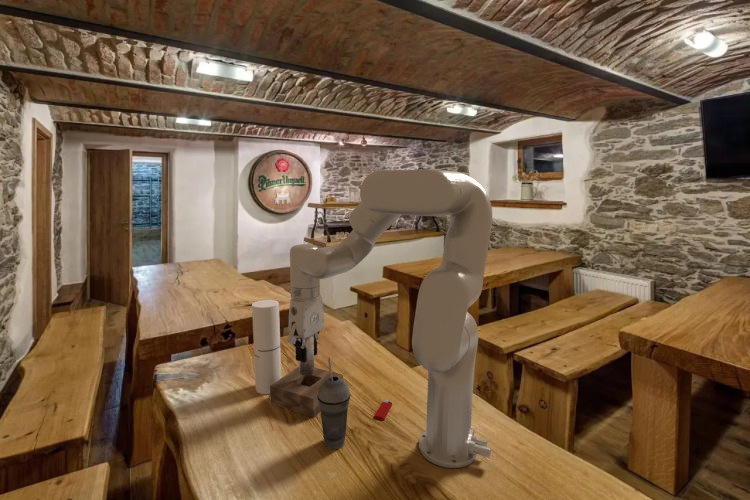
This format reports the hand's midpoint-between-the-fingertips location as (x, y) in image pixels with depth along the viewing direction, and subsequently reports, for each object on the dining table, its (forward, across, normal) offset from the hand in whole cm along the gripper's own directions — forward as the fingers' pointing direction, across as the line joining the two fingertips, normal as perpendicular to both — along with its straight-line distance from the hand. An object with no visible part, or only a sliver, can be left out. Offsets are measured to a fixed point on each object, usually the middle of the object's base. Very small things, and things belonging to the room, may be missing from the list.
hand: (306, 356), depth 102 cm
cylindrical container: (+12, -1, +13) cm, 17 cm away
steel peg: (+4, 0, 0) cm, 4 cm away
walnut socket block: (+12, 0, 0) cm, 12 cm away
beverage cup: (+12, -13, -17) cm, 24 cm away
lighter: (+12, +4, -21) cm, 25 cm away
